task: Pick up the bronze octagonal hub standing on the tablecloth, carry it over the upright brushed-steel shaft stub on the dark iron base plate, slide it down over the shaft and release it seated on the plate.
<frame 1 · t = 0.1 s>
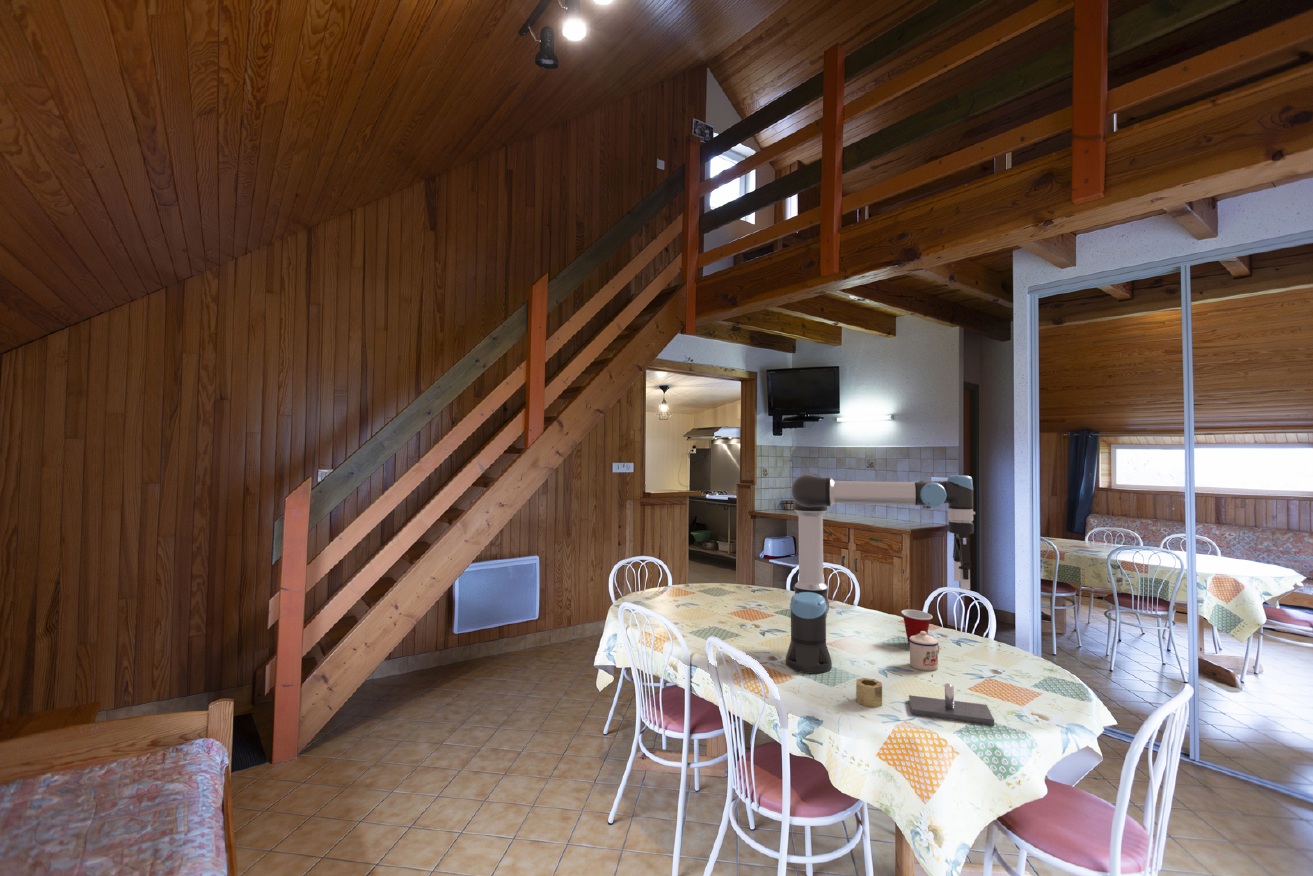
hand: (961, 585, 198), 28 cm above the table, fingers open, 13 cm apart
teacup with lid: (926, 666, 200), on the table
shaft stand: (949, 712, 163), on the table
hub: (869, 702, 170), on the table
plastic cup: (917, 645, 222), on the table
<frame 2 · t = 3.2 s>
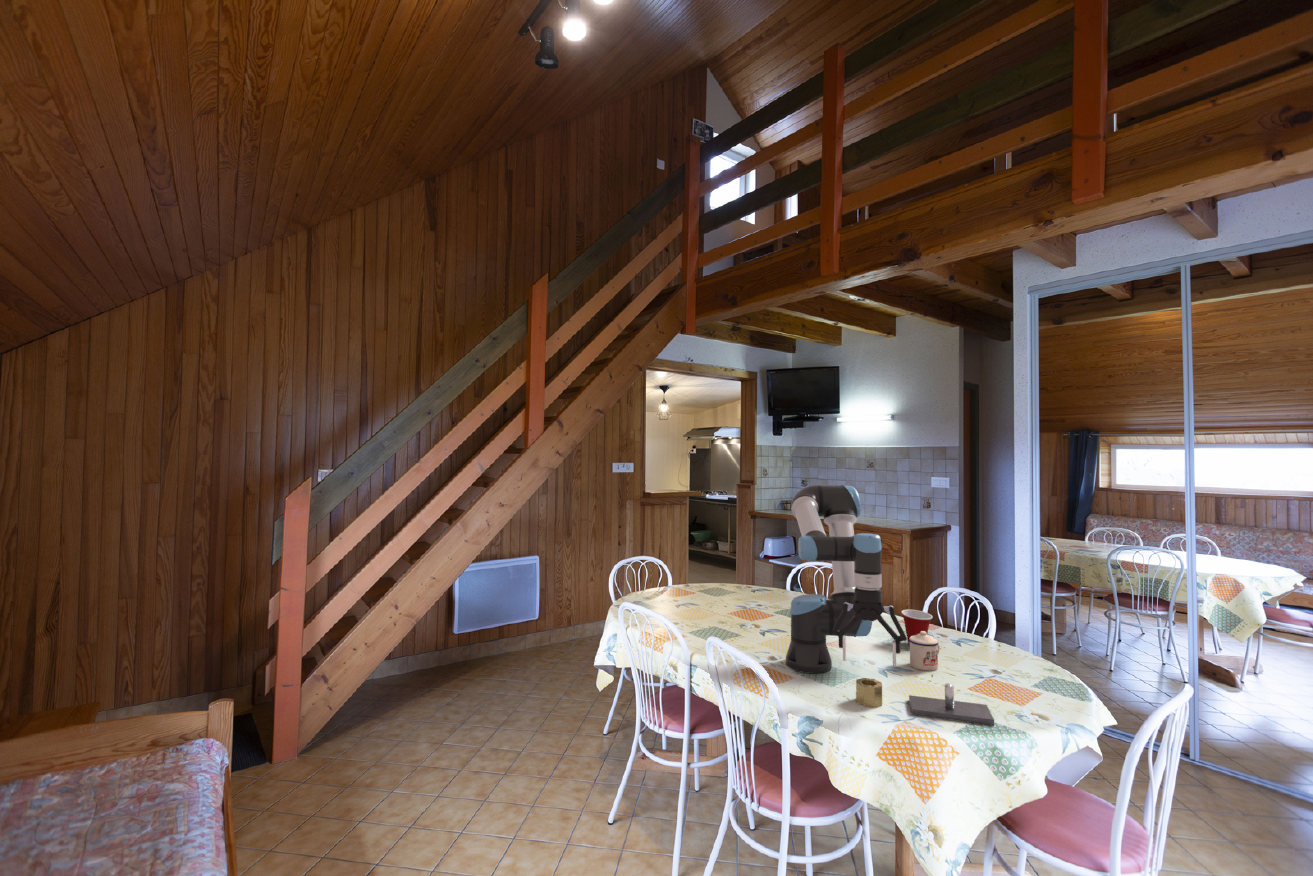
hand: (869, 662, 170), 12 cm above the table, fingers open, 13 cm apart
nothing on the table moved.
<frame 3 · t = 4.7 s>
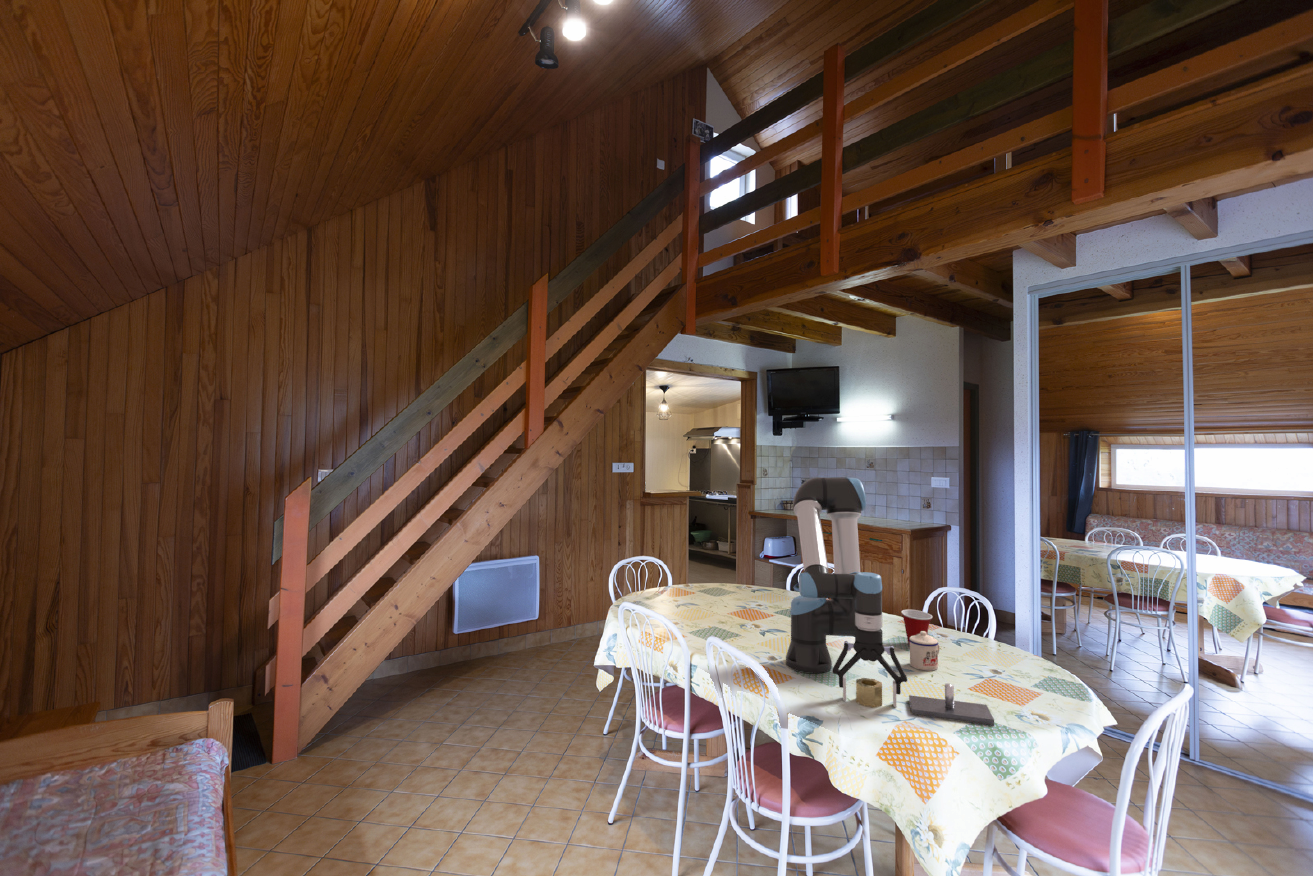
hand: (869, 702, 170), 0 cm above the table, fingers open, 13 cm apart
nothing on the table moved.
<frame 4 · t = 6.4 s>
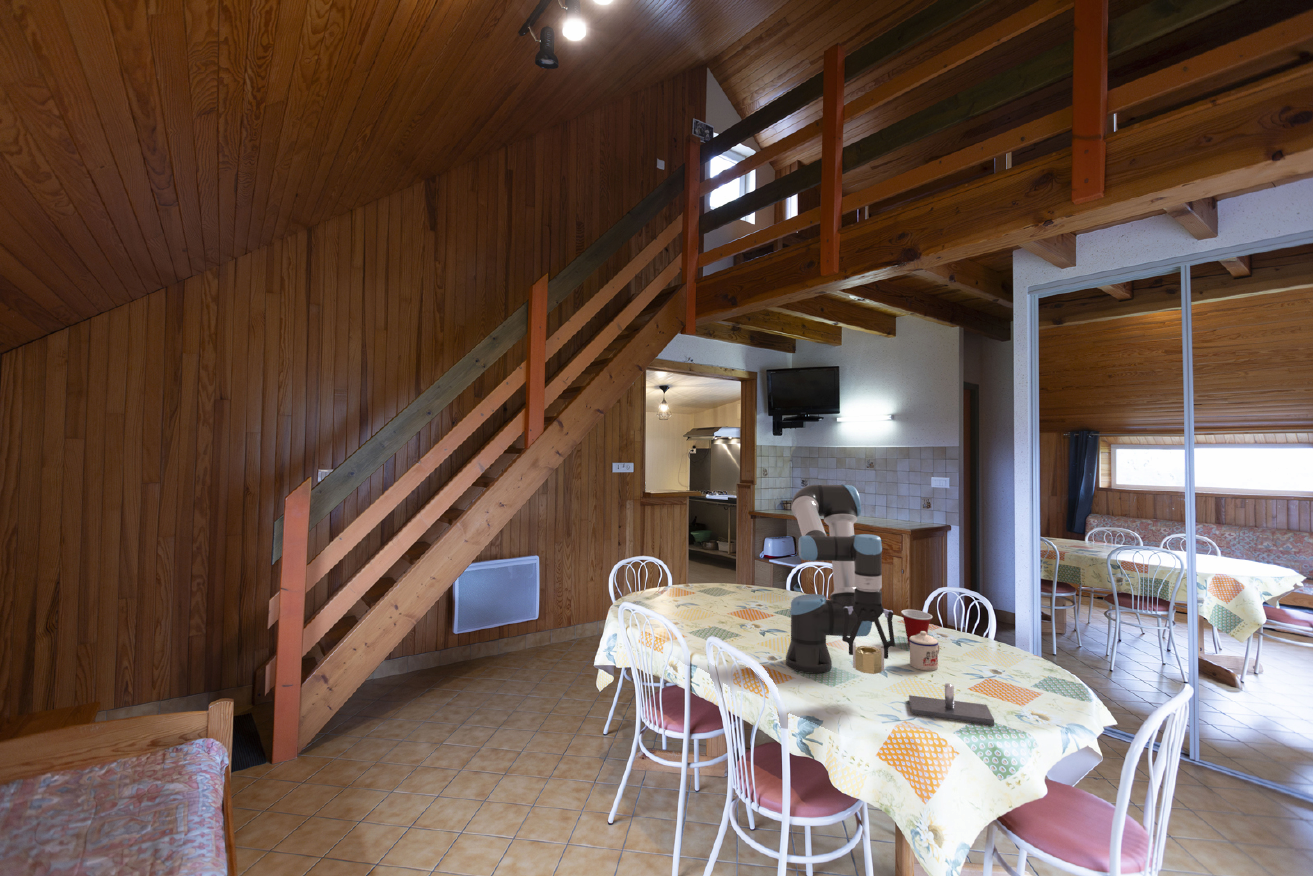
hand: (868, 667, 171), 10 cm above the table, fingers closed on hub, 7 cm apart
hub: (868, 669, 171), point 9 cm above the table, touching gripper
everything else where it was.
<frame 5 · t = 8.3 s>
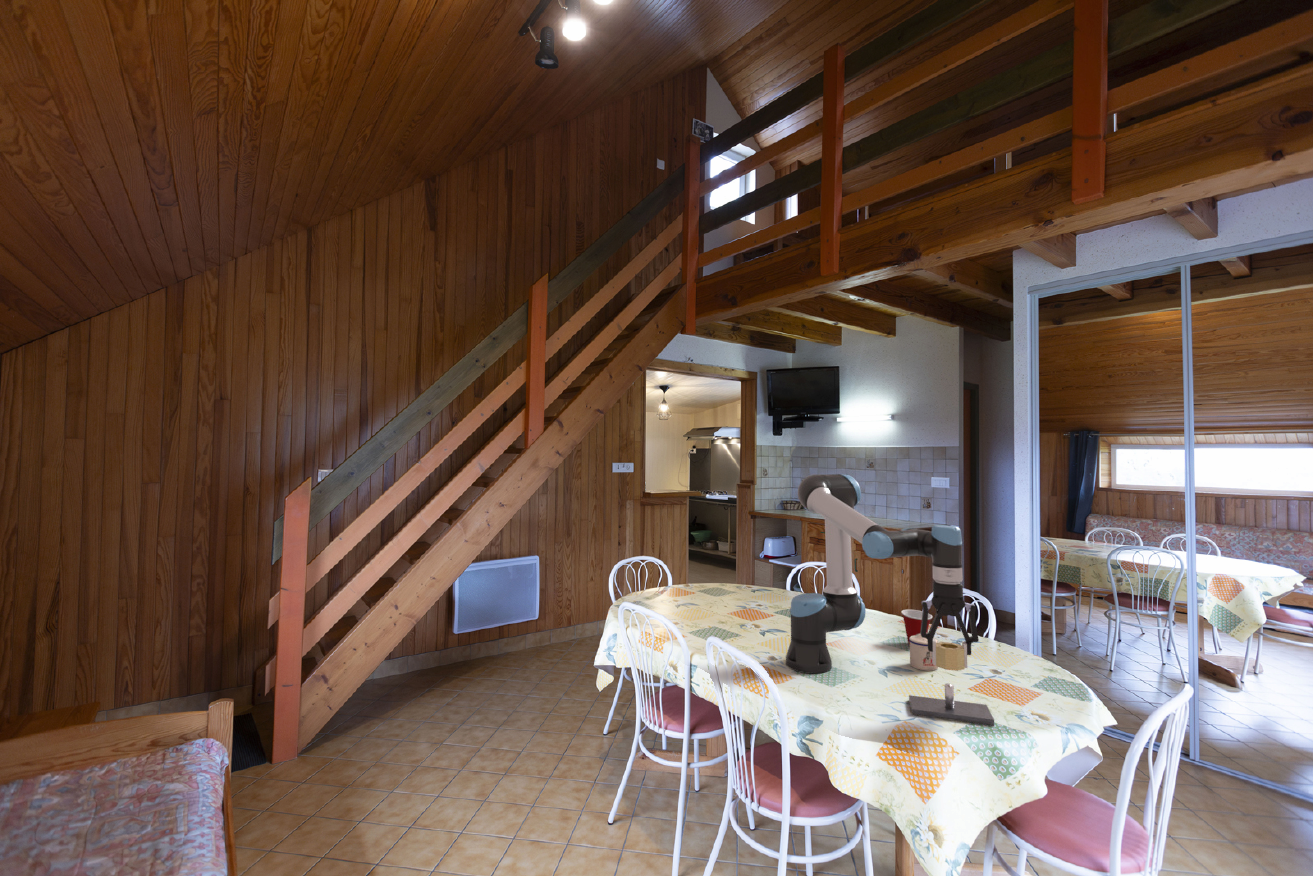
hand: (949, 664, 164), 13 cm above the table, fingers closed on hub, 7 cm apart
hub: (949, 666, 163), point 13 cm above the table, touching gripper
everything else where it was.
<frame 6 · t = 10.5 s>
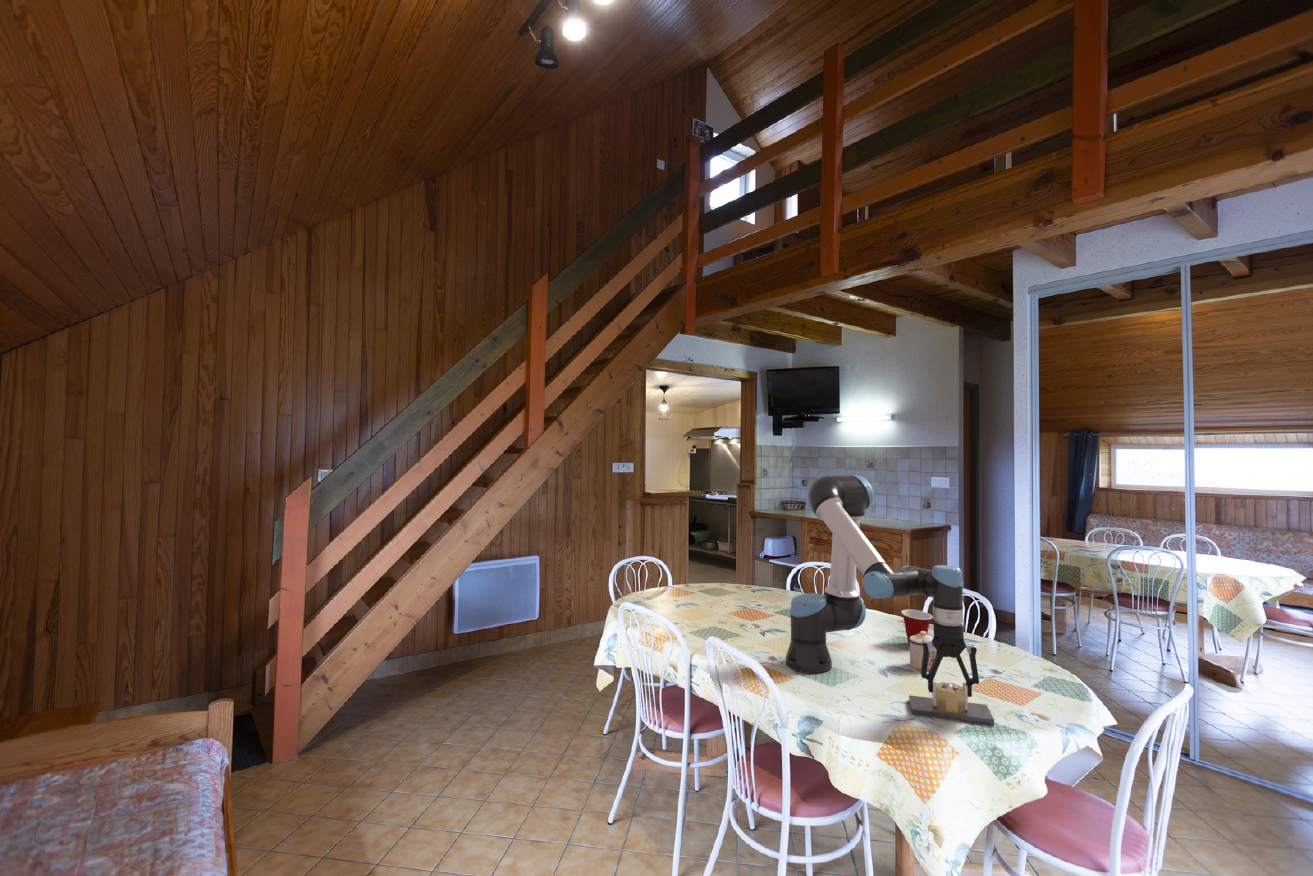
hand: (949, 706, 163), 2 cm above the table, fingers closed on hub, 7 cm apart
hub: (950, 707, 163), point 2 cm above the table, touching gripper, shaft stand
everything else where it was.
when the fingers open (2 cm above the table, at t = 10.5 s): hub stays where it is, resting on shaft stand.
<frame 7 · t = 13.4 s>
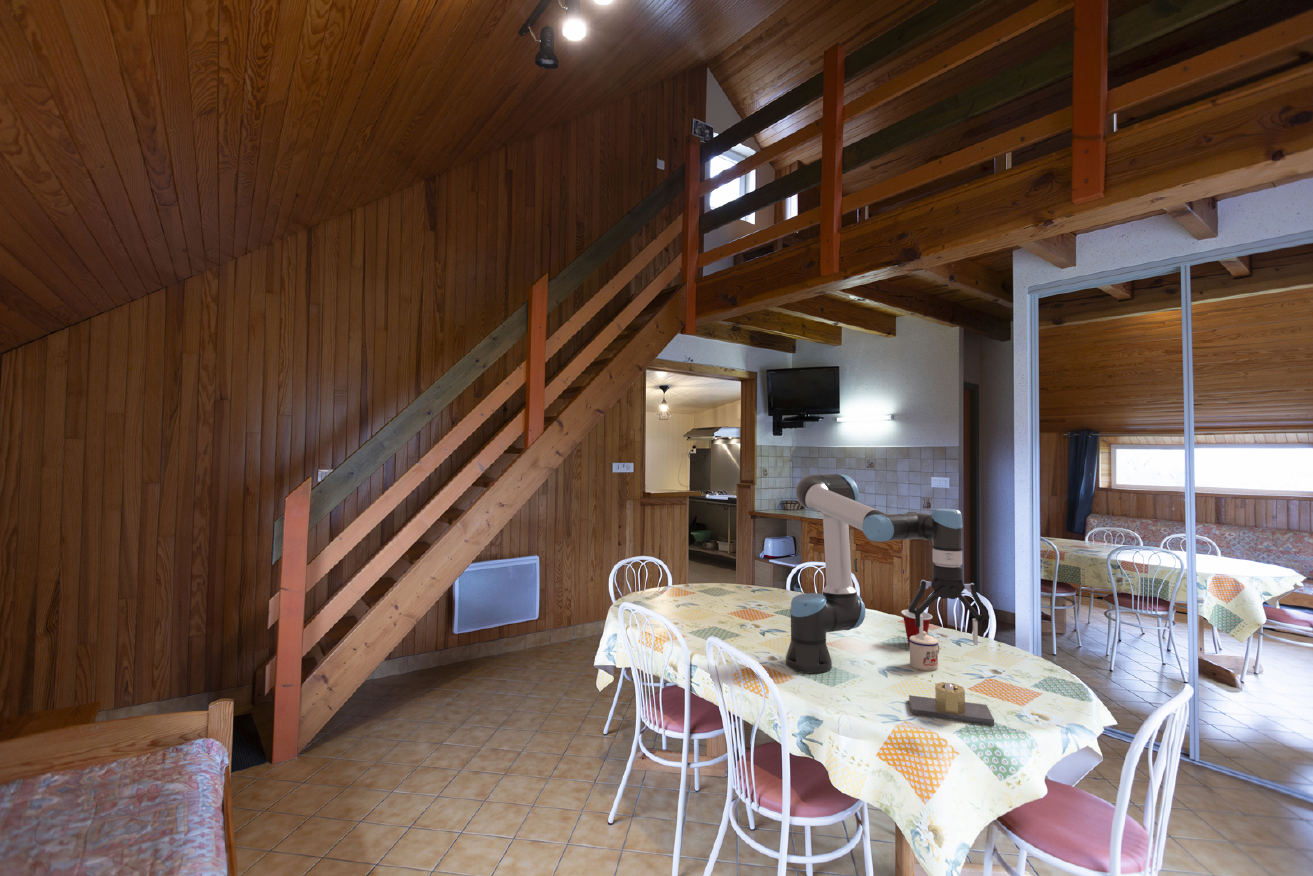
hand: (947, 641, 164), 19 cm above the table, fingers open, 13 cm apart
hub: (950, 707, 163), point 1 cm above the table, touching shaft stand
everything else where it was.
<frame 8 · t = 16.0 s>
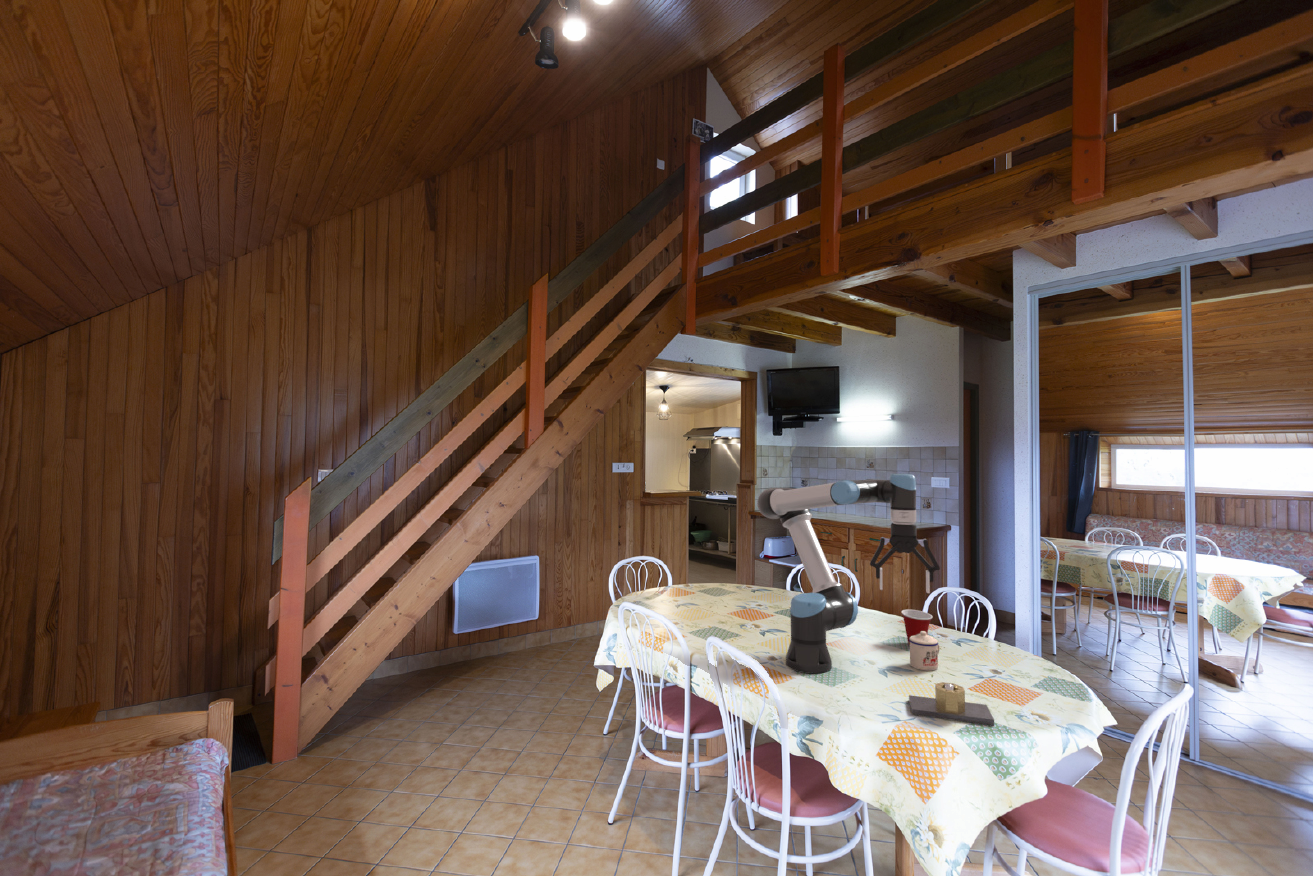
hand: (904, 590, 186), 29 cm above the table, fingers open, 13 cm apart
nothing on the table moved.
at the end: hub 0.4 cm off-centre on the shaft stand, point 1.5 cm above the shaft stand's base; hub tilted 0°; the gripper is holding nothing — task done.
